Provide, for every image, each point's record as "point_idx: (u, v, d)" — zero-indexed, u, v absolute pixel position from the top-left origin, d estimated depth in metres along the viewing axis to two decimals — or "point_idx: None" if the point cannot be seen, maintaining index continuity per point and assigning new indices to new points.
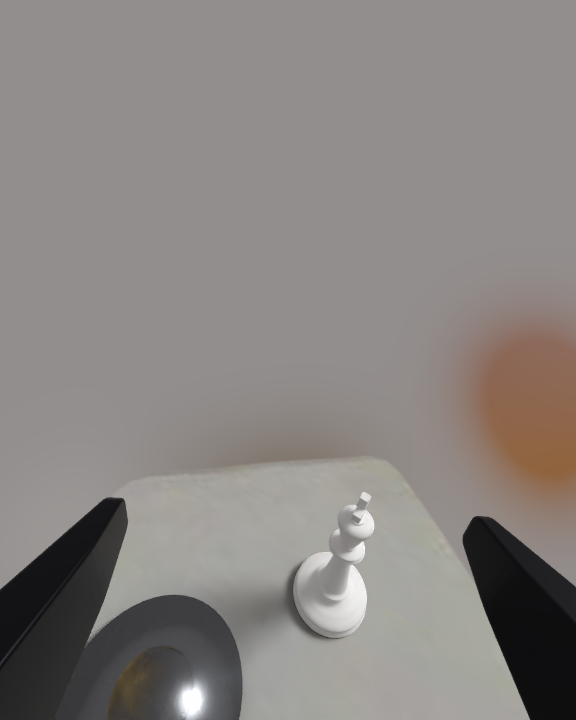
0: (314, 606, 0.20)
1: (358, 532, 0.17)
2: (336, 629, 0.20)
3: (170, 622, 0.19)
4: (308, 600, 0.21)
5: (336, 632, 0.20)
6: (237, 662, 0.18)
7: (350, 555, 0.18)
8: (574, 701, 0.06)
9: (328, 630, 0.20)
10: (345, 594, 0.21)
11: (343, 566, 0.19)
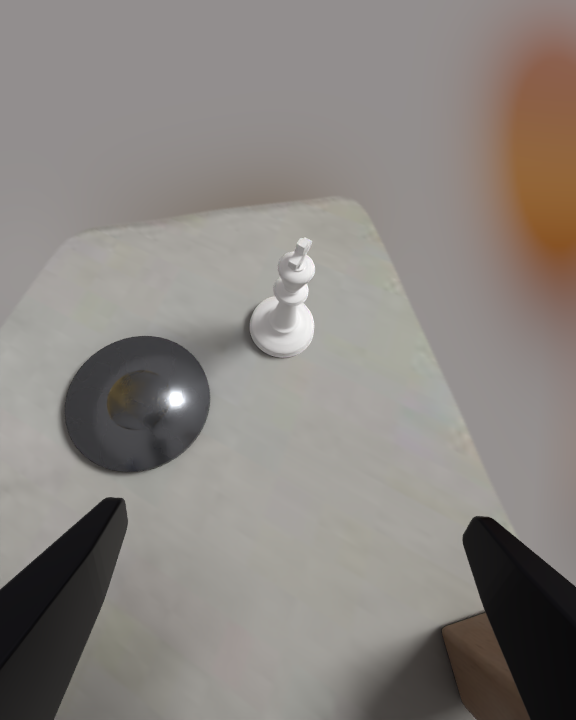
0: (266, 338, 0.23)
1: (296, 278, 0.17)
2: (285, 352, 0.24)
3: (142, 355, 0.22)
4: (261, 333, 0.24)
5: (285, 354, 0.24)
6: (203, 377, 0.22)
7: (292, 298, 0.19)
8: (574, 701, 0.06)
9: (278, 353, 0.24)
10: (293, 328, 0.23)
11: (288, 307, 0.21)
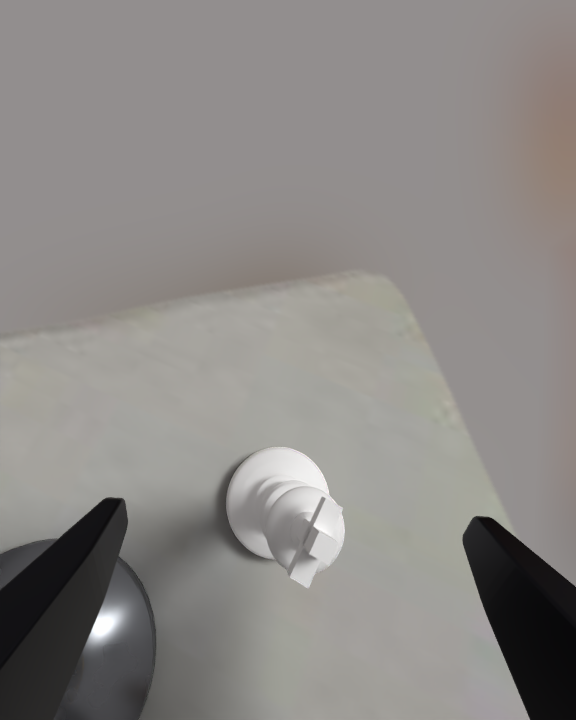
0: (252, 535, 0.14)
1: None
2: None
3: None
4: (244, 527, 0.14)
5: None
6: (143, 617, 0.13)
7: None
8: (574, 701, 0.06)
9: None
10: None
11: None
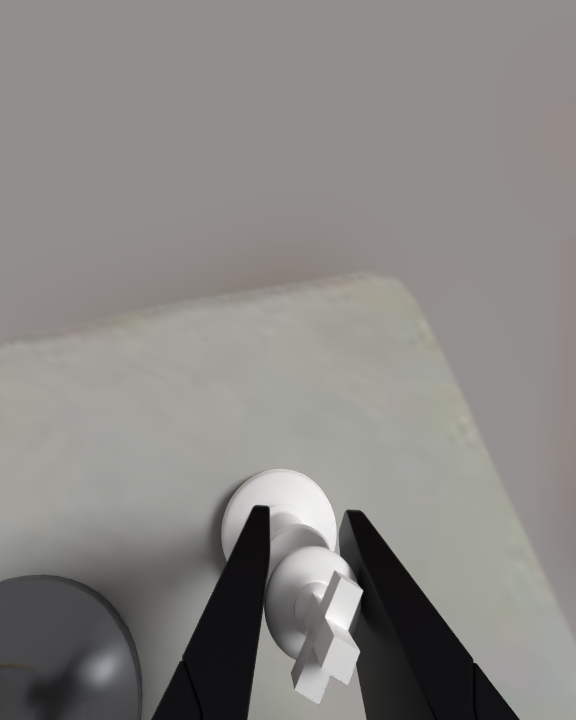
0: None
1: None
2: None
3: (11, 626, 0.12)
4: None
5: None
6: (127, 667, 0.12)
7: None
8: (390, 702, 0.06)
9: None
10: None
11: None
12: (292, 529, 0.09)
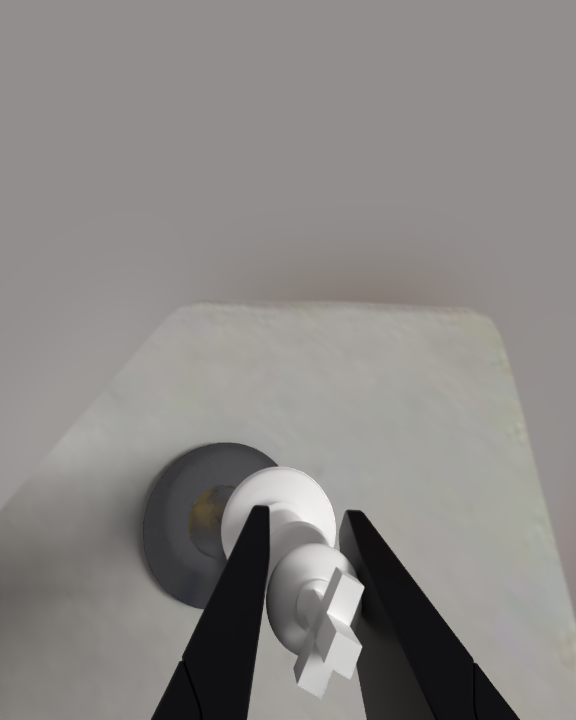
0: None
1: None
2: None
3: (234, 467, 0.20)
4: None
5: None
6: None
7: None
8: (391, 702, 0.06)
9: None
10: None
11: None
12: (292, 526, 0.09)
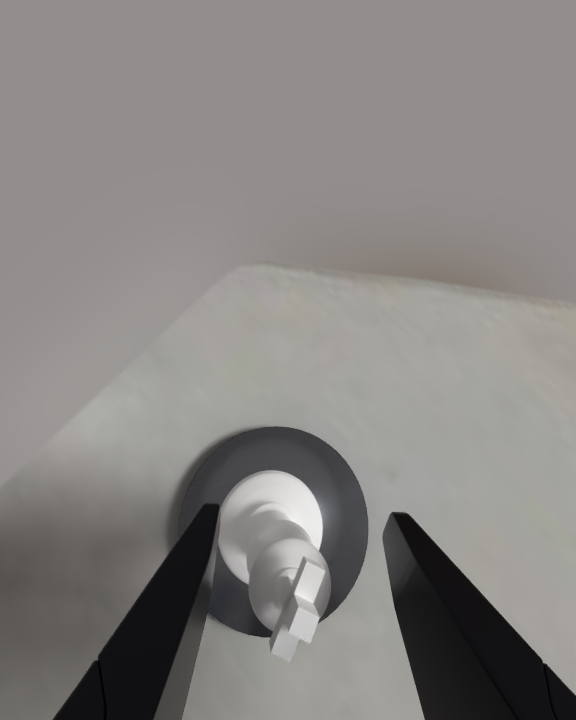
0: (244, 566, 0.14)
1: None
2: None
3: (294, 457, 0.16)
4: (235, 558, 0.14)
5: None
6: (364, 517, 0.16)
7: None
8: (456, 702, 0.06)
9: None
10: None
11: None
12: (275, 524, 0.10)
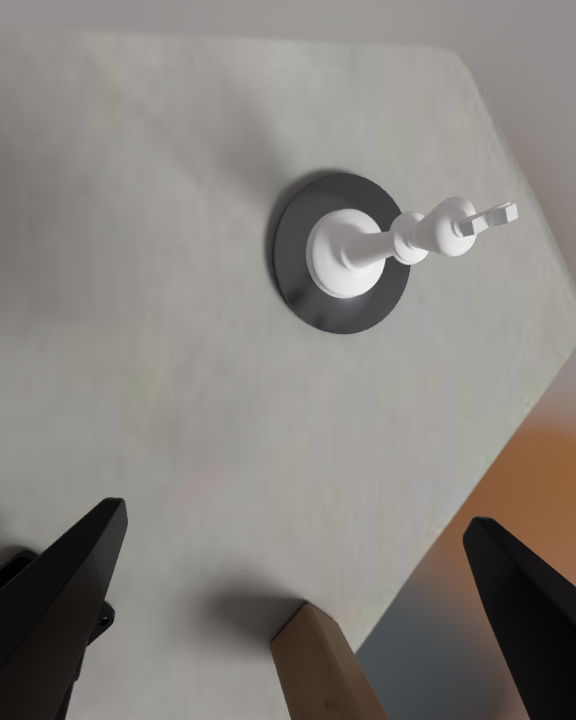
0: (324, 257, 0.18)
1: (447, 243, 0.11)
2: (330, 288, 0.18)
3: (387, 230, 0.20)
4: (322, 248, 0.17)
5: (328, 289, 0.18)
6: (394, 303, 0.21)
7: (406, 251, 0.14)
8: (574, 701, 0.06)
9: (323, 284, 0.18)
10: (360, 270, 0.18)
11: (385, 252, 0.15)
12: None
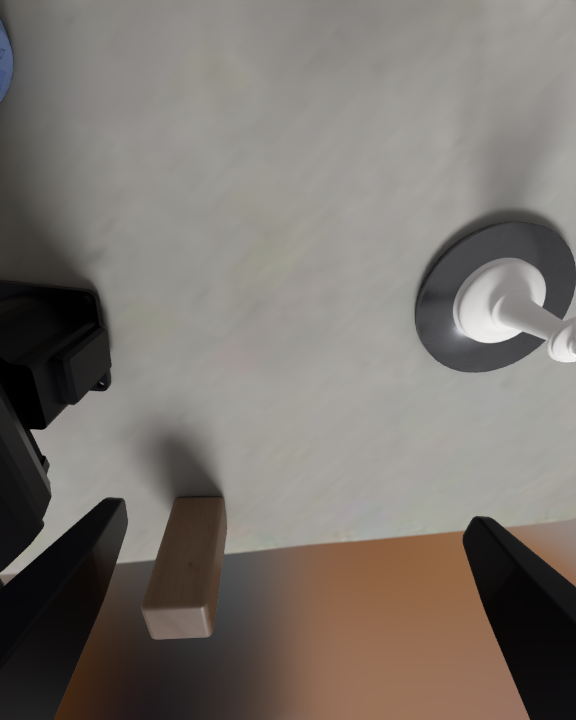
0: (483, 290, 0.18)
1: None
2: (461, 315, 0.19)
3: None
4: (489, 282, 0.17)
5: (458, 315, 0.19)
6: (487, 368, 0.21)
7: (561, 346, 0.14)
8: (574, 701, 0.06)
9: (460, 307, 0.18)
10: (498, 324, 0.18)
11: (540, 331, 0.15)
12: None
